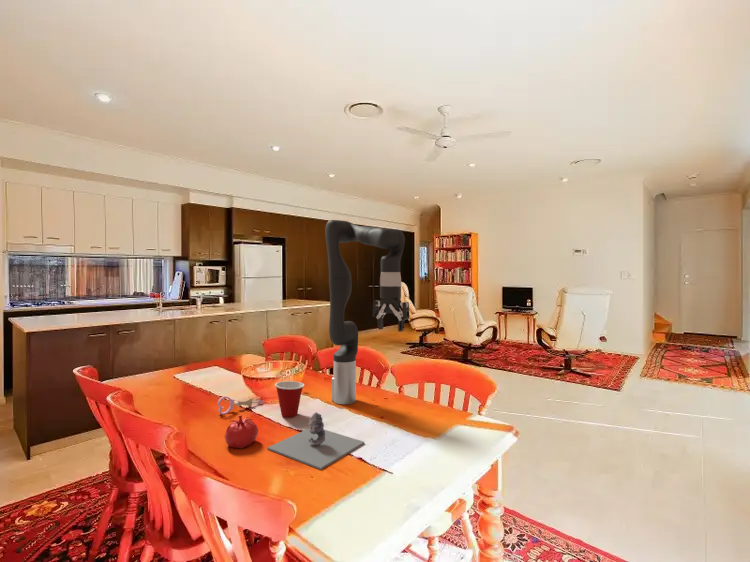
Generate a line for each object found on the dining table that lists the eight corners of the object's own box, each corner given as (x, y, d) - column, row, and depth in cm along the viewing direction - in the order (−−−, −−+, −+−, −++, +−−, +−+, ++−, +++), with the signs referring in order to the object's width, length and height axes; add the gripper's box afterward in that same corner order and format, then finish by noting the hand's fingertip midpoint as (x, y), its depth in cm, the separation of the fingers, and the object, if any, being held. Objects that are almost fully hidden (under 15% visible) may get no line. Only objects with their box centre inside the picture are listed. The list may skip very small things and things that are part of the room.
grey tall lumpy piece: (306, 448, 121) (306, 415, 121) (310, 440, 126) (310, 409, 126) (324, 448, 121) (324, 415, 120) (327, 440, 126) (326, 409, 126)
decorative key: (264, 410, 163) (217, 415, 149) (262, 410, 164) (215, 414, 150) (266, 394, 164) (219, 397, 150) (265, 393, 165) (218, 396, 151)
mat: (267, 449, 121) (267, 447, 121) (313, 427, 138) (313, 426, 138) (320, 469, 109) (320, 467, 109) (364, 443, 125) (364, 441, 125)
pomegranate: (264, 440, 128) (264, 412, 128) (242, 453, 119) (242, 422, 119) (240, 435, 132) (240, 407, 132) (217, 447, 123) (217, 417, 123)
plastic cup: (309, 416, 148) (308, 384, 148) (280, 422, 143) (280, 389, 142) (298, 408, 158) (298, 378, 157) (271, 413, 152) (271, 382, 152)
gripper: (368, 285, 143) (368, 329, 143) (402, 285, 135) (402, 333, 135) (380, 284, 149) (380, 327, 149) (413, 285, 141) (413, 330, 141)
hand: (390, 330), depth 142 cm, fingers open, 8 cm apart
